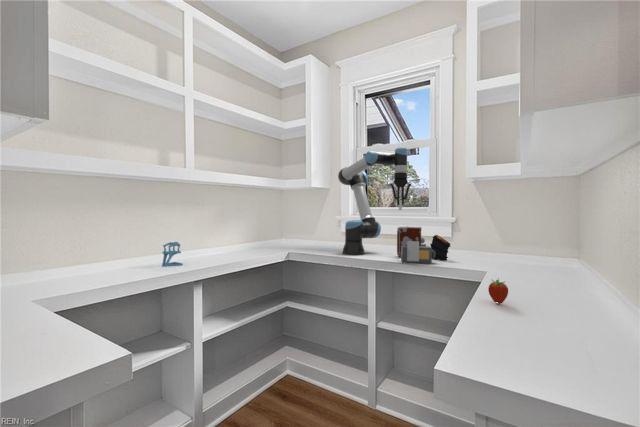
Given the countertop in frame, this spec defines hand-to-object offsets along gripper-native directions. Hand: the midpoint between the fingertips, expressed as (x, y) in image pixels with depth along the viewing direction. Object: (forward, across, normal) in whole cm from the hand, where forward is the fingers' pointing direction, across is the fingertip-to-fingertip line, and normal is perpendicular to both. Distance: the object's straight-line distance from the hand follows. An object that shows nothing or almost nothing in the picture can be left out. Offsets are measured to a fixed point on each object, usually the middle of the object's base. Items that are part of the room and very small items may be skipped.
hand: (400, 210), depth 195 cm
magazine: (+31, +24, +1) cm, 39 cm away
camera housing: (+30, +9, -14) cm, 35 cm away
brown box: (+31, +9, +10) cm, 33 cm away
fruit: (+31, +22, -96) cm, 103 cm away
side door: (+29, +6, -19) cm, 35 cm away
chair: (+31, -119, -56) cm, 135 cm away
